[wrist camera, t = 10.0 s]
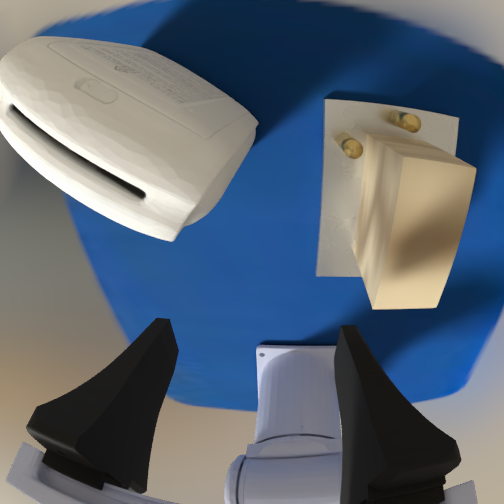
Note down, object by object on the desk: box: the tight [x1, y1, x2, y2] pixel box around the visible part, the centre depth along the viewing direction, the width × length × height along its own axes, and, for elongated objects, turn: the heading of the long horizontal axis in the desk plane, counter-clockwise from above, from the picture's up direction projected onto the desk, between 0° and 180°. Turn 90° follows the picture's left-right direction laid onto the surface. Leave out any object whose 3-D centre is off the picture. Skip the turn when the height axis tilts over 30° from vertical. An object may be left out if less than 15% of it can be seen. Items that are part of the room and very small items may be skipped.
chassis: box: [315, 99, 459, 277], centre depth 17 cm, size 12×9×3 cm
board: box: [353, 134, 477, 309], centre depth 15 cm, size 8×4×6 cm, turn 2°
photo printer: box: [0, 36, 259, 241], centre depth 12 cm, size 10×4×12 cm, turn 54°
